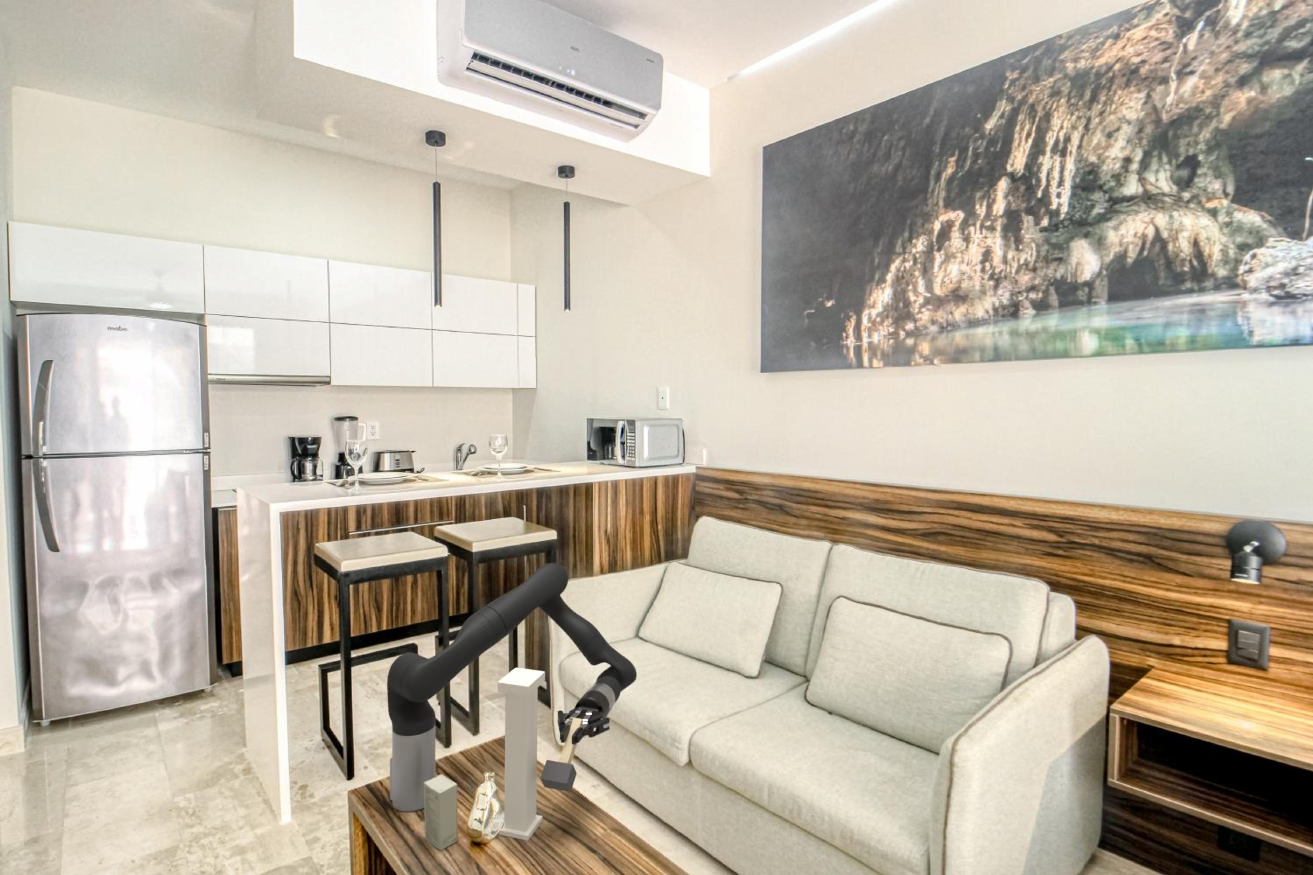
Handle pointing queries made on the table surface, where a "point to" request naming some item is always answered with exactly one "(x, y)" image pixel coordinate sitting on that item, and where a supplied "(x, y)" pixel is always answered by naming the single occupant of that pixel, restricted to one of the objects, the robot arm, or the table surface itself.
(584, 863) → the table surface
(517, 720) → the pale stand
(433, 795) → the skincare box
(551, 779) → the rubber mallet
